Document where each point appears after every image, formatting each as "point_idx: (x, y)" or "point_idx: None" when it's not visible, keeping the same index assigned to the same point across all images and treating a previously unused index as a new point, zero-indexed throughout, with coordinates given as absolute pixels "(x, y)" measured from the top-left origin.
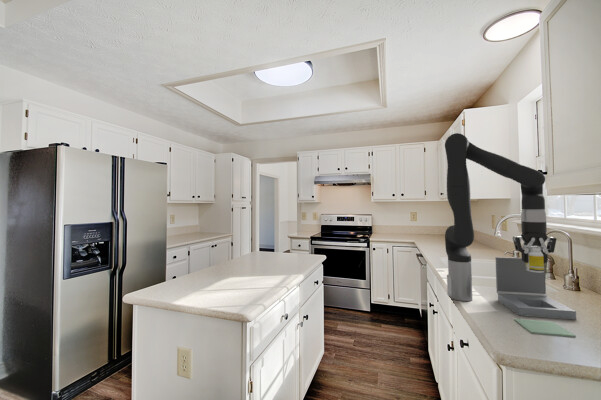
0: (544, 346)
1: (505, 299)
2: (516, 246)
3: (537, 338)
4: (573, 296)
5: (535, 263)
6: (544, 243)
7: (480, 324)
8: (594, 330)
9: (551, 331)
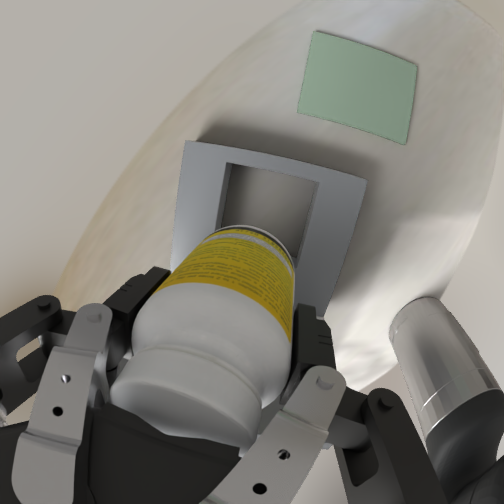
0: (426, 20)
1: (339, 269)
2: (370, 467)
3: (418, 45)
4: None
5: (264, 261)
6: (38, 399)
7: (494, 140)
8: (215, 69)
9: (362, 55)
